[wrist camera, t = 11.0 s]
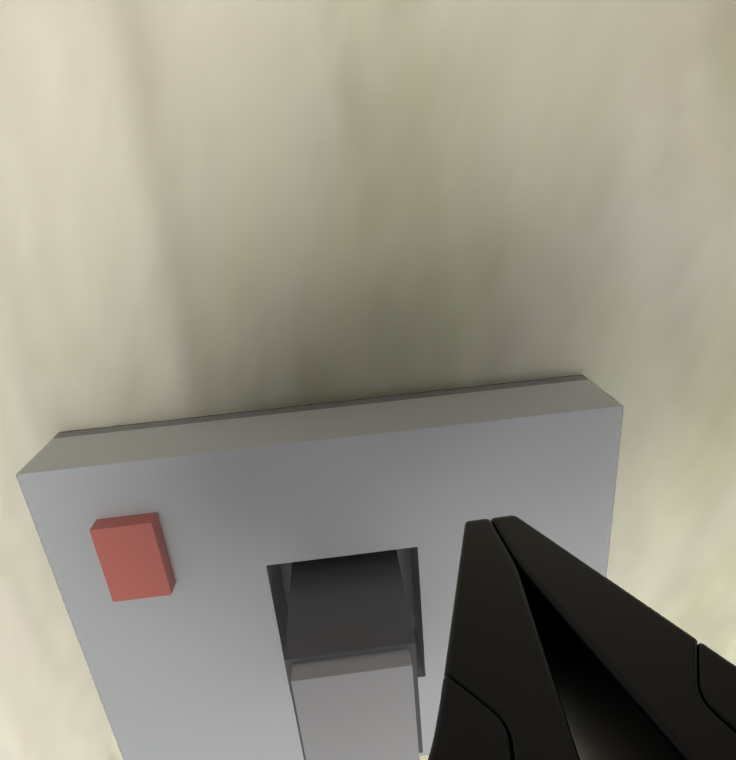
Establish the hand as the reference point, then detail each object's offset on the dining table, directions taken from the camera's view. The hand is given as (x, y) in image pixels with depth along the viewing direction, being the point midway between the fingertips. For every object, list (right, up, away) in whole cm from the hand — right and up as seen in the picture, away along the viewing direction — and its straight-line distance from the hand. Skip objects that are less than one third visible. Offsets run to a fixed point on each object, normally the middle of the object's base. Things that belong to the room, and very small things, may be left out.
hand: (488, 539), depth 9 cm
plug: (-3, -6, +14) cm, 15 cm away
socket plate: (-3, -6, +14) cm, 16 cm away
